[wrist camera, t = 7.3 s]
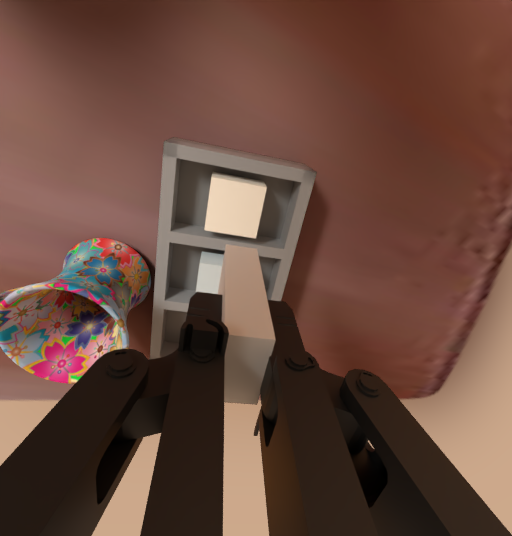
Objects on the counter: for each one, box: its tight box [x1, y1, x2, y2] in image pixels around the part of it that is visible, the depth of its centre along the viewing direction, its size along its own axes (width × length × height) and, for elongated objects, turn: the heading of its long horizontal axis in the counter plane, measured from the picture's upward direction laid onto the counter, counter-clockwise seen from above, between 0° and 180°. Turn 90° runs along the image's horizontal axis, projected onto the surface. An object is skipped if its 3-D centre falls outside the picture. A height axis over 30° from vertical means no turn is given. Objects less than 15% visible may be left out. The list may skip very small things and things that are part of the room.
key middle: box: [196, 251, 224, 294], centre depth 28 cm, size 4×4×2 cm
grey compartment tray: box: [150, 137, 317, 359], centre depth 31 cm, size 22×12×4 cm, turn 169°
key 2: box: [204, 172, 267, 239], centre depth 26 cm, size 4×4×2 cm
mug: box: [0, 238, 151, 383], centre depth 27 cm, size 12×9×11 cm
